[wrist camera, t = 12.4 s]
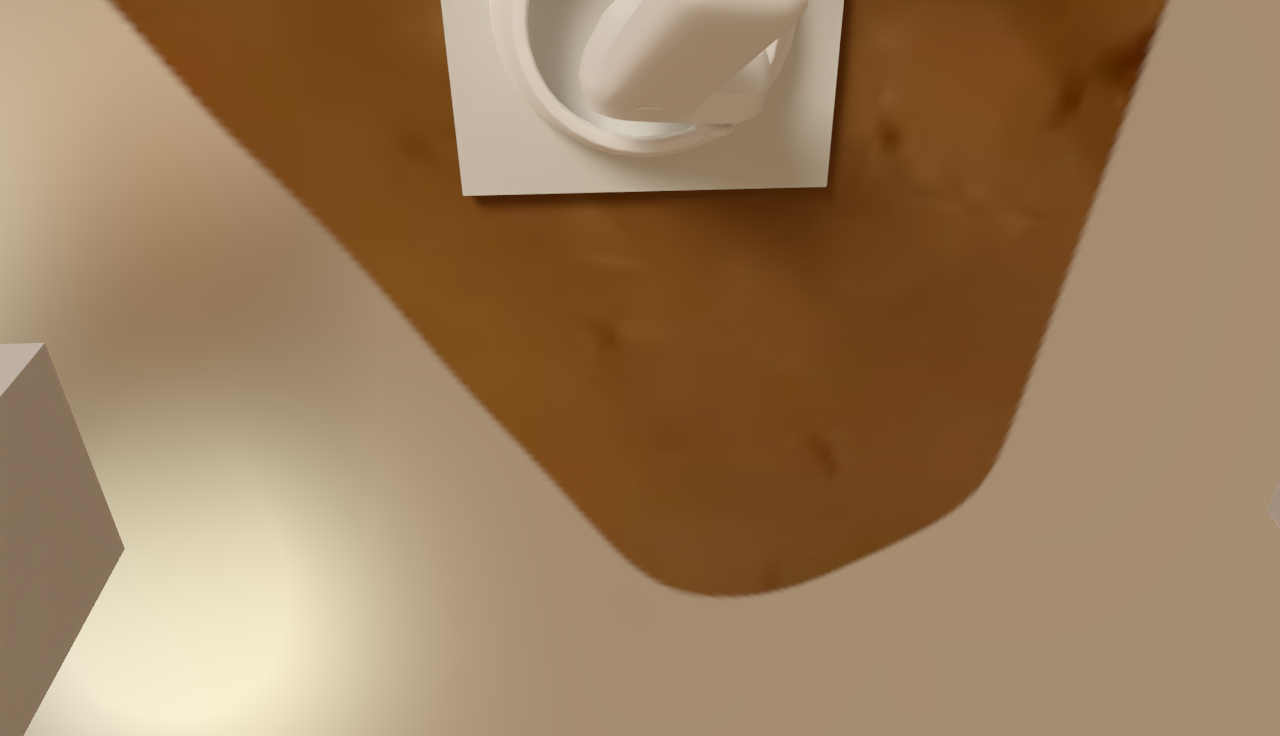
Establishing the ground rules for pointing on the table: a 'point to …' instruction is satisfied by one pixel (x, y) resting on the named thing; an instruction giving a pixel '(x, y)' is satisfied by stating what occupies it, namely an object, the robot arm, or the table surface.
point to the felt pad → (554, 163)
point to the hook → (659, 68)
